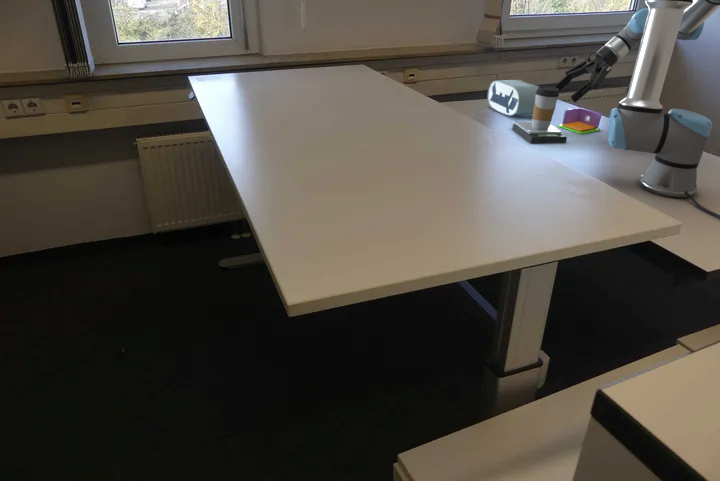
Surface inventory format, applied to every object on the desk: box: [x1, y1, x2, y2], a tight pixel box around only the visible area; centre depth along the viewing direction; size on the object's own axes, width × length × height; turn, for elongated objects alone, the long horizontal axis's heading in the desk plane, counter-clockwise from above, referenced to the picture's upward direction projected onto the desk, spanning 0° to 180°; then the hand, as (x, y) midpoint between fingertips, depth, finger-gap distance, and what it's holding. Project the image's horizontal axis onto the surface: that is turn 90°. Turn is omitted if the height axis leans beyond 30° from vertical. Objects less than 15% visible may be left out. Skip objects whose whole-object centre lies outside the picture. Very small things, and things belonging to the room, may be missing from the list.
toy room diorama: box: [558, 107, 602, 135], centre depth 213 cm, size 12×12×7 cm
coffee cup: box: [531, 85, 560, 130], centre depth 198 cm, size 8×8×15 cm
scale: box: [511, 121, 568, 145], centre depth 203 cm, size 17×14×3 cm
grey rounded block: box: [486, 79, 539, 117], centre depth 230 cm, size 22×19×13 cm
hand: (563, 95), depth 197 cm, fingers open, 13 cm apart
